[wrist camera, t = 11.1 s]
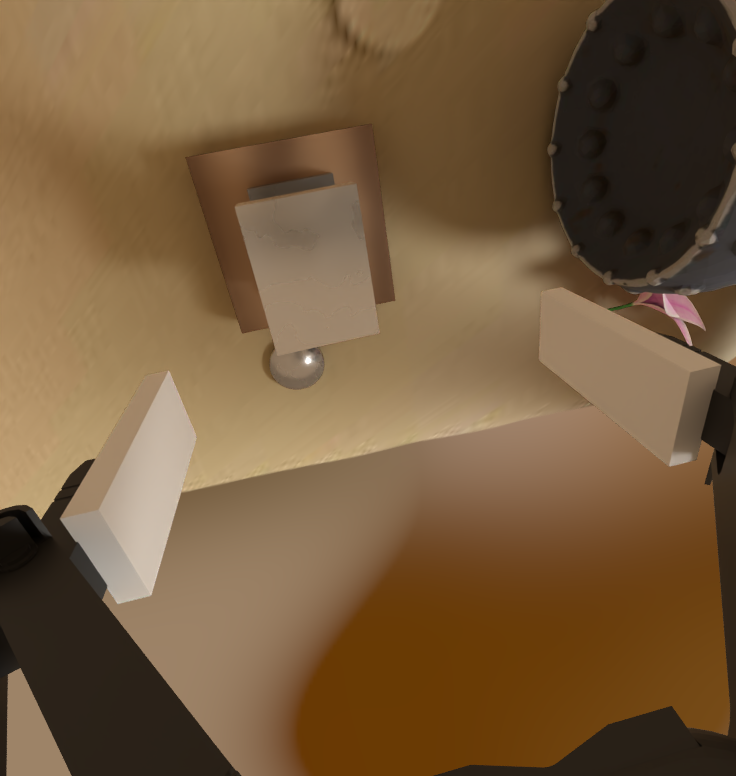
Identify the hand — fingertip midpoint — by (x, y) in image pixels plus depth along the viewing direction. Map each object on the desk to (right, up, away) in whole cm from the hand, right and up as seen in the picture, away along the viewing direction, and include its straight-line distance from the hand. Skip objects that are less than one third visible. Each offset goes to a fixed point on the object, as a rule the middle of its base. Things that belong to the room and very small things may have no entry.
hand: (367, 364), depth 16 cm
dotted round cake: (+19, +20, +22) cm, 35 cm away
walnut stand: (-6, +12, +21) cm, 25 cm away
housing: (-5, +11, +18) cm, 22 cm away
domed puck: (-7, +2, +27) cm, 28 cm away
